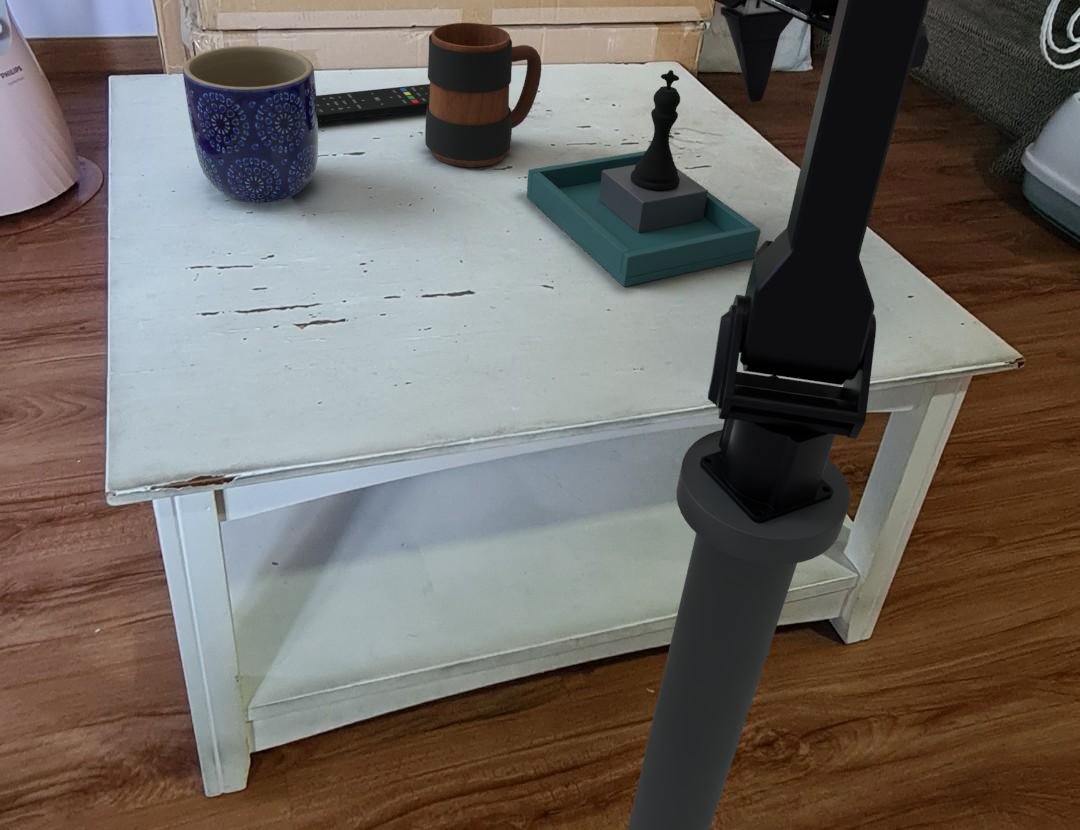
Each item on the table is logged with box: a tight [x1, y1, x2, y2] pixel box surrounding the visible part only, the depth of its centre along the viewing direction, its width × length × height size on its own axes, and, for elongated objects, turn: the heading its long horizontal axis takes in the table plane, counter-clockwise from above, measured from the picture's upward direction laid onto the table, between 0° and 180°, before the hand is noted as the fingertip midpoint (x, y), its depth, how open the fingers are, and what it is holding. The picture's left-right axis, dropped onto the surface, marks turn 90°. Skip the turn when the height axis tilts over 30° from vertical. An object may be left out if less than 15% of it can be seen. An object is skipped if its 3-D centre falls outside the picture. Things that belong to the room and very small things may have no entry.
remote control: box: [316, 83, 430, 123], centre depth 107 cm, size 5×24×1 cm, turn 116°
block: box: [599, 165, 709, 233], centre depth 91 cm, size 7×7×3 cm
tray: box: [526, 150, 761, 288], centre depth 90 cm, size 18×14×3 cm
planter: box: [182, 45, 319, 204], centre depth 89 cm, size 11×11×11 cm
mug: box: [424, 22, 542, 168], centre depth 98 cm, size 9×12×12 cm
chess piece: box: [631, 69, 681, 191], centre depth 87 cm, size 4×4×10 cm
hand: (789, 121), depth 81 cm, fingers open, 9 cm apart
